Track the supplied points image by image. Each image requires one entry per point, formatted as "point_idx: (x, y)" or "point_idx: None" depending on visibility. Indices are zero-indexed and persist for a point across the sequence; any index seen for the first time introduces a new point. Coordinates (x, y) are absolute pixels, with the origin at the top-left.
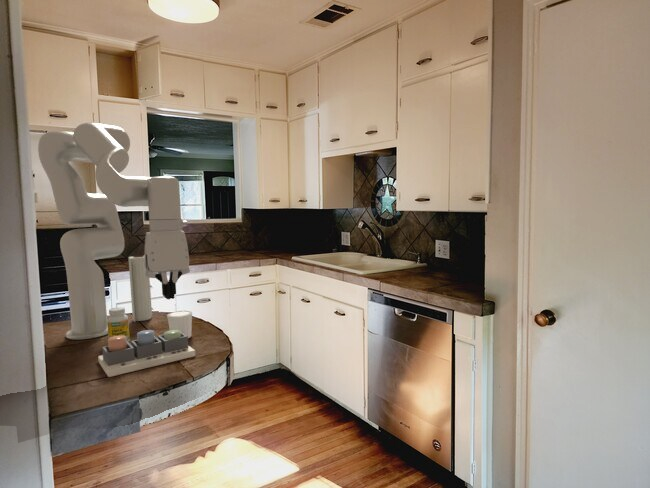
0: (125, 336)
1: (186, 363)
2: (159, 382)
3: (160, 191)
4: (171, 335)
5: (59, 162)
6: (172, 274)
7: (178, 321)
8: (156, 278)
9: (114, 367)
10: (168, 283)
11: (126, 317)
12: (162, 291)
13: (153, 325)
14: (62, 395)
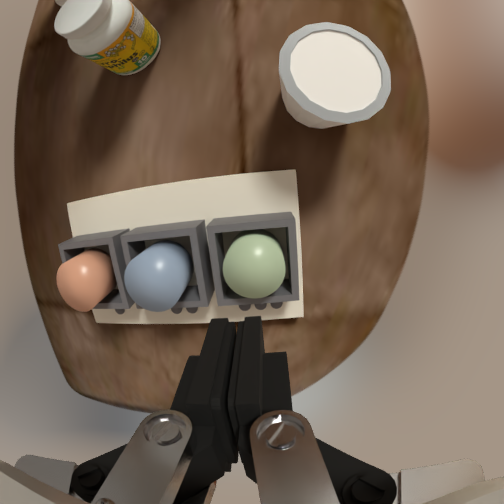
0: (94, 286)
1: (265, 342)
2: None
3: None
4: (244, 295)
5: None
6: (290, 493)
7: (316, 120)
8: (104, 460)
9: (105, 313)
10: (224, 461)
11: (118, 28)
12: (185, 373)
13: None
14: (56, 340)
